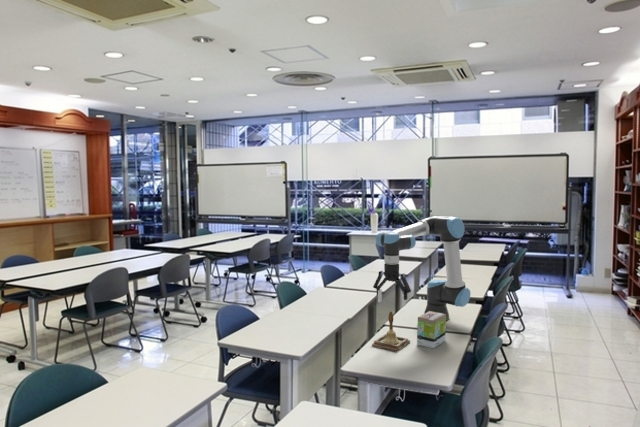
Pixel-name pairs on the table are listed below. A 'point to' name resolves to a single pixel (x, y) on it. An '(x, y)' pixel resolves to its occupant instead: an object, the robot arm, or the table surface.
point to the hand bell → (391, 332)
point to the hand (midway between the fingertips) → (391, 303)
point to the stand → (391, 347)
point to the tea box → (431, 329)
